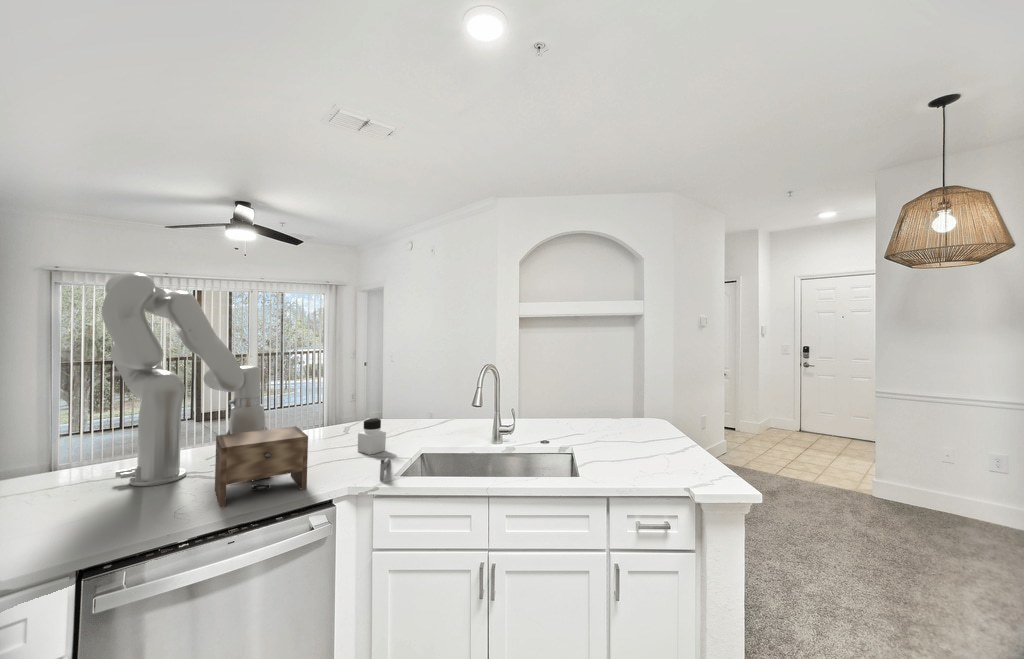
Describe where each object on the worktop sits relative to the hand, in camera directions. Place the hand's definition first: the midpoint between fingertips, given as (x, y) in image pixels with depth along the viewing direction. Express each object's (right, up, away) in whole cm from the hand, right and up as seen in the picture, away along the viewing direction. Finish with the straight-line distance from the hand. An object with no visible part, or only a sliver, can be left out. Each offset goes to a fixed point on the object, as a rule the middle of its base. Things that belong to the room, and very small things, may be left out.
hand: (247, 455), depth 141 cm
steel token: (+20, -2, -25) cm, 32 cm away
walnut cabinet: (+20, -2, -26) cm, 33 cm away
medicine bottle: (+38, -2, +12) cm, 40 cm away
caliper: (+49, -3, -7) cm, 50 cm away
